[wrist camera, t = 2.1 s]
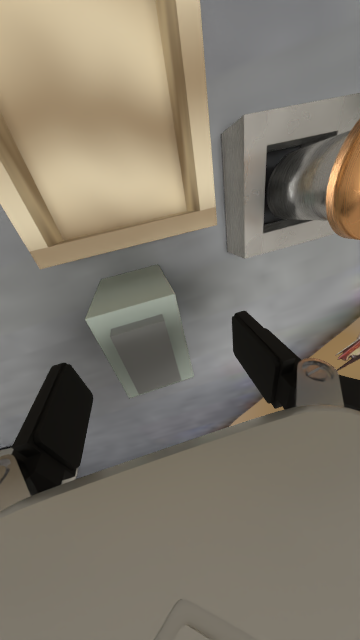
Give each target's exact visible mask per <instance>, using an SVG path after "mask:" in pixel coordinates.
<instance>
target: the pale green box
mask: <svg viewBox="0 0 360 640" xmlns="http://www.w3.org/2000/svg"><path fill="white" fill-rule="evenodd" d="M85 320H86V322H87V324H88V326H89V327H90V329H91V331H92V333H93V334H94V336H95V338H96V340H97V342H98V343H99V345H100V347H101V349H102V351H103V352H104V354H105V356H106V358H107V359H108V361H109V363H110V365H111V367H112V368H113V370H114V372H115V374H116V376H117V377H118V379H119V381H120V383H121V384H122V386H123V388H124V390H125V392H126V393H127V395H128V397H129V399H130V398H133V397H135V396H138V395H141V394H144V393H147V392H150V391H153V390H156V389H159V388H162V387H165V386H168V385H171V384H174V383H177V382H180V381H183V380H186V379H189V378H192V377H194V375H193V370H192V366H191V361H190V357H189V353H188V348H187V344H186V340H185V335H184V331H183V326H182V322H181V318H180V313H179V309H178V304H177V300H176V296H175V293H174V291H173V289H172V288H171V286H170V284H169V282H168V281H167V279H166V277H165V276H164V274H163V272H162V270H161V269H160V267H159V265H154V266H150V267H146V268H143V269H139V270H135V271H131V272H128V273H124V274H120V275H116V276H112V277H109V278H105V279H101V281H100V283H99V286H98V288H97V291H96V293H95V296H94V298H93V301H92V303H91V306H90V308H89V311H88V313H87V316H86V318H85Z"/></svg>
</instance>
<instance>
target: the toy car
mask: <svg viewBox="0 0 360 640" xmlns="http://www.w3.org/2000/svg"><path fill="white" fill-rule="evenodd" d="M340 353H342V354H341V355H340V356H339V357H338V360H340V359H342V360H343V361H347V360H348V359H349V358H350V357H351V358H352V359H351V360H349V361H348V362H347V363H345V364H344V365H343V366H341V367H340V368H338V369H337V371H338V370H340V369H342V368H344V367H346V366H347V365H349V364H351V363H353V362H355V361H357V360H358V359H360V334H359V335H358V337H357V339H356V341H354V342H353V343H352V344H350V345H349V346H347V347H346V348H344V349H343V350H342V351H340V352H339V353H337V354H336V355H338V354H340ZM336 355H335V356H336Z"/></svg>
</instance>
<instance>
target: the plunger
mask: <svg viewBox="0 0 360 640" xmlns="http://www.w3.org/2000/svg"><path fill="white" fill-rule="evenodd" d="M267 203H268V207H269V209H270V211H271V212H272V214H273V215H274V216H276V217H277V218H280V219H297V220H322V221H328V222H329V224H330V226H331V228H332V230H333V231H334V232H335V233H336V234H338V235H339V236H341V237H343V238H348V239H357V240H360V119H359V120H358V121H357V123H356V124H355V125H354V127H353V128H352V130H350V131H347V132H344V133H342V134H339V135H336V136H333V137H331V138H328V139H325V140H323V141H320V142H317V143H314V144H312V145H309V146H306V147H304V148H301V149H298V150H296V151H293V152H291V153H289V154H287V155H286V156H285V157H283V158H282V159H281V160H280V161H279V163H278V164H277V165H276V167H275V168H274V170H273V172H272V174H271V177H270V179H269V183H268V187H267Z"/></svg>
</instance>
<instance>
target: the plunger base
mask: <svg viewBox="0 0 360 640" xmlns="http://www.w3.org/2000/svg"><path fill="white" fill-rule="evenodd" d="M359 119H360V93H357V94H352V95H347V96H341V97H336V98H331V99H325V100H320V101H315V102H309V103H304V104H299V105H293V106H288V107H283V108H278V109H272V110H267V111H262V112H256V113H251V114H246V115H243V116H242V117H241V118H240V119H238V120H237V121H236V122H235V123H234V124H232V125H231V126H230V127H229V128H228V129H227V130H225V131H224V132H223V133H222V134H221V140H222V158H223V177H224V195H225V214H226V233H227V251H228V252H229V253H232V254H234V255H237V256H239V257H242V258H244V259H245V258H249V257H253V256H256V255H260V254H264V253H267V252H271V251H274V250H278V249H282V248H285V247H289V246H293V245H296V244H300V243H304V242H307V241H311V240H314V239H318V238H322V237H325V236H329V235H333V233H334V231H333V230H332V228H331V226H330V224H329V222H328V221H322V220H297V219H285V220H281V221H277V222H273V223H269V224H265V225H263V222H264V199H265V176H266V153H267V152H270V151H275V150H280V149H284V148H289V147H294V146H298V145H301V148H304V147H306V146H309V145H312V144H314V143H317V142H320V141H323V140H325V139H328V138H331V137H333V136H336V135H339V134H342V133H344V132H347V131H350V130H352V128H353V127H354V125H355V124H356V123H357V121H358V120H359Z"/></svg>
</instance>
